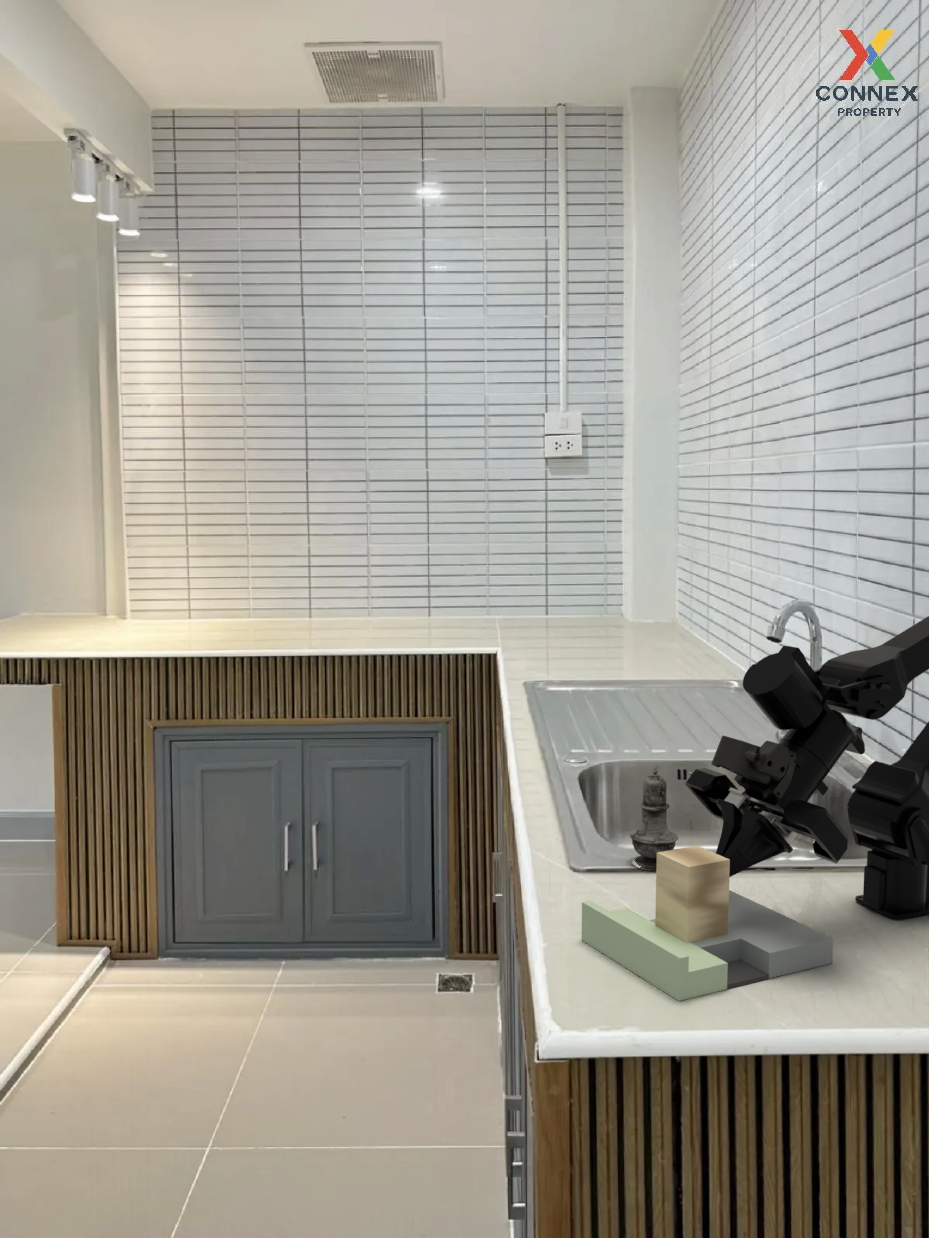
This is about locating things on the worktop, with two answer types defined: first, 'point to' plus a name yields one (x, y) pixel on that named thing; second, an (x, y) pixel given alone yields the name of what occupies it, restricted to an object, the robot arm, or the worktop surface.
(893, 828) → the robot arm
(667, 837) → the salt shaker
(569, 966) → the worktop surface
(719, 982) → the board
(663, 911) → the beech block
